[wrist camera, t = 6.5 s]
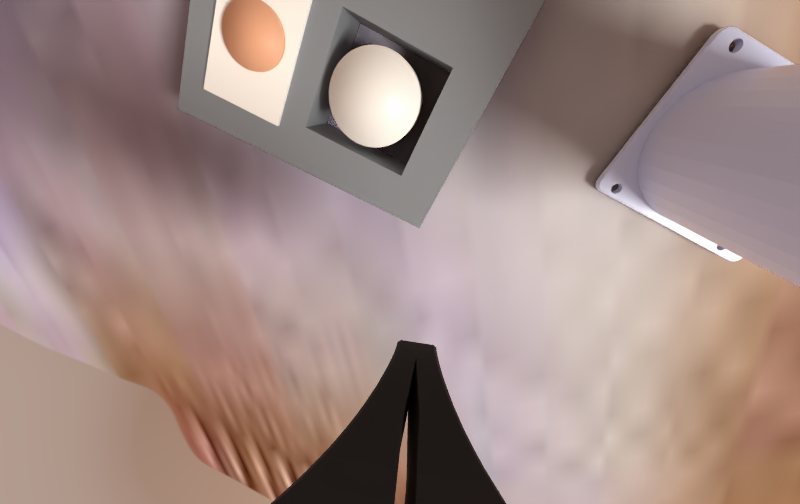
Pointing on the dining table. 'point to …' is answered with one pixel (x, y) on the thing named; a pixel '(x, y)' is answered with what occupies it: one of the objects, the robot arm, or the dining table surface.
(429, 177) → the button board
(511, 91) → the dining table surface
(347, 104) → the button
